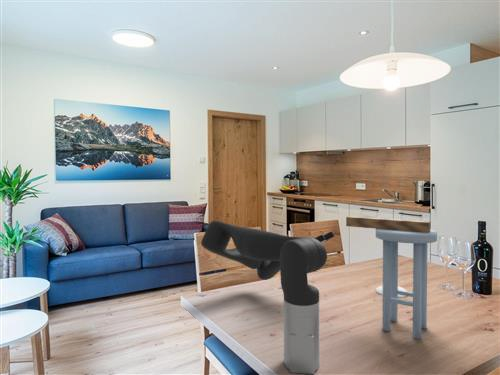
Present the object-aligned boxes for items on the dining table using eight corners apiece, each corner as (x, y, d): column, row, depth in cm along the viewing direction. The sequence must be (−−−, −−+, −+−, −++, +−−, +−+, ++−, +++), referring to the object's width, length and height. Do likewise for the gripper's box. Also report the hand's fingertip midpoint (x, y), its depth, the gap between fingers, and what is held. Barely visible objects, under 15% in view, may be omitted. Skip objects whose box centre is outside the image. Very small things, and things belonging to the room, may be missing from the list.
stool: (440, 325, 113) (441, 229, 112) (430, 347, 99) (431, 237, 98) (383, 312, 124) (384, 224, 123) (367, 330, 109) (368, 231, 108)
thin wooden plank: (430, 231, 107) (430, 221, 107) (428, 233, 105) (428, 222, 105) (349, 225, 123) (349, 216, 123) (346, 226, 120) (346, 217, 120)
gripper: (307, 257, 139) (340, 241, 131) (290, 264, 128) (325, 248, 119) (299, 240, 141) (331, 223, 133) (281, 246, 130) (315, 228, 121)
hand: (328, 235), depth 126 cm, fingers open, 8 cm apart
